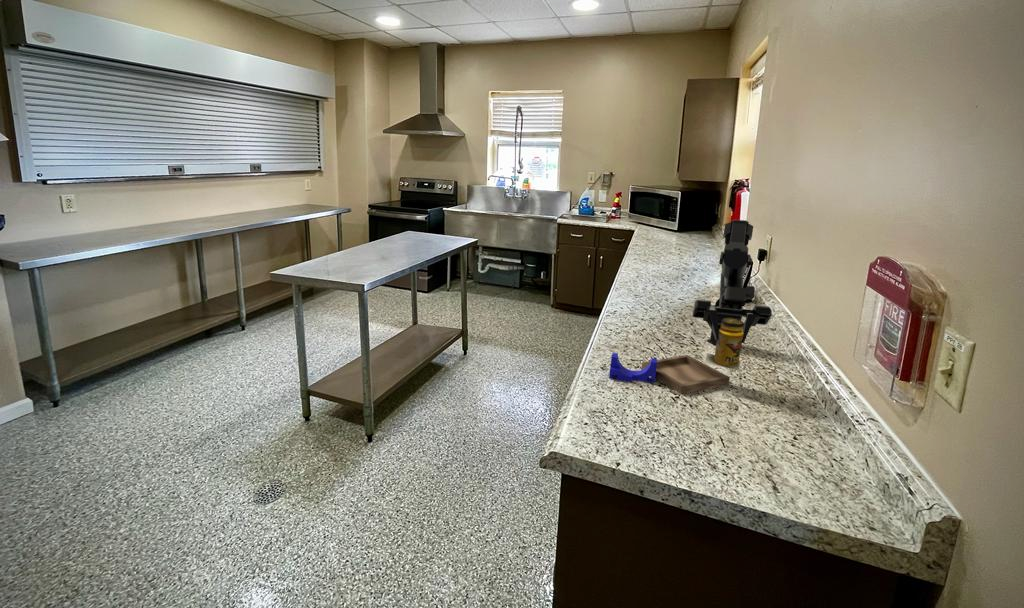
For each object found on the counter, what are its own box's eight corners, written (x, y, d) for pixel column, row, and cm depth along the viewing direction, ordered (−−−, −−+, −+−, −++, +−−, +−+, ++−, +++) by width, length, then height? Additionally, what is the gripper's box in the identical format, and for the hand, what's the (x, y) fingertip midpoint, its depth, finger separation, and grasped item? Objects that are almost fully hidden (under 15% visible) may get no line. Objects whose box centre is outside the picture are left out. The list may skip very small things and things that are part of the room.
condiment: (738, 370, 128) (746, 326, 125) (703, 364, 132) (710, 321, 128) (740, 360, 135) (747, 318, 131) (707, 354, 138) (713, 313, 135)
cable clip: (609, 379, 137) (610, 358, 136) (610, 372, 141) (612, 352, 140) (654, 385, 134) (656, 365, 132) (654, 378, 138) (657, 358, 136)
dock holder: (686, 361, 150) (687, 354, 149) (728, 384, 135) (730, 377, 135) (641, 369, 143) (642, 362, 143) (680, 394, 129) (681, 386, 128)
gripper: (699, 270, 132) (696, 323, 125) (777, 276, 127) (778, 332, 120) (693, 291, 142) (690, 341, 135) (766, 297, 137) (766, 350, 130)
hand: (729, 341), depth 130 cm, fingers closed on condiment, 6 cm apart
